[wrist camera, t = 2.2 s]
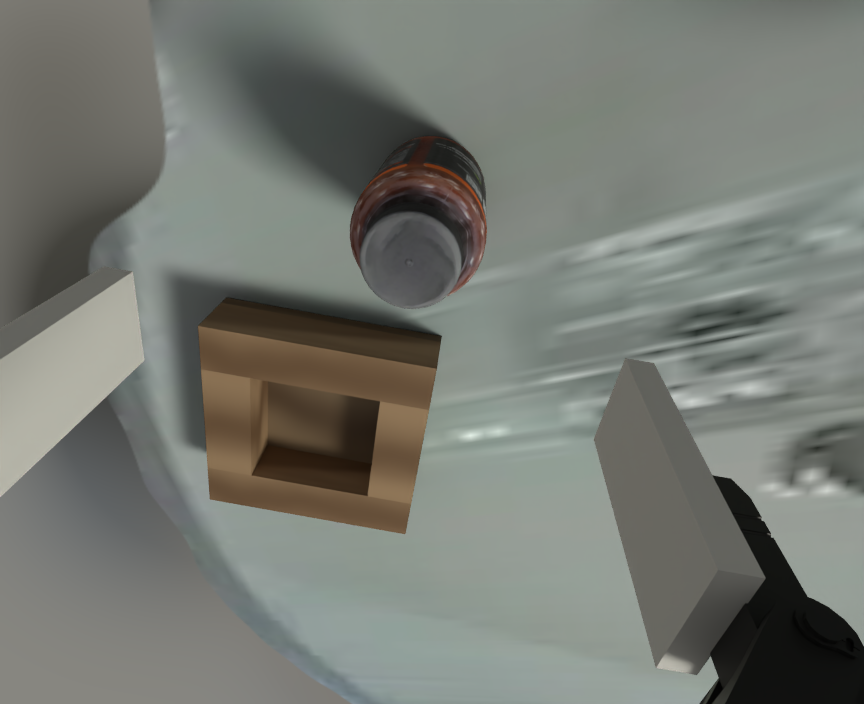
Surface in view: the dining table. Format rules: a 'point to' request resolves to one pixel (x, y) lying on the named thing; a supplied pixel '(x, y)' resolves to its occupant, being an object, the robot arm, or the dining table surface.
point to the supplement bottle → (421, 223)
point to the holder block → (314, 412)
